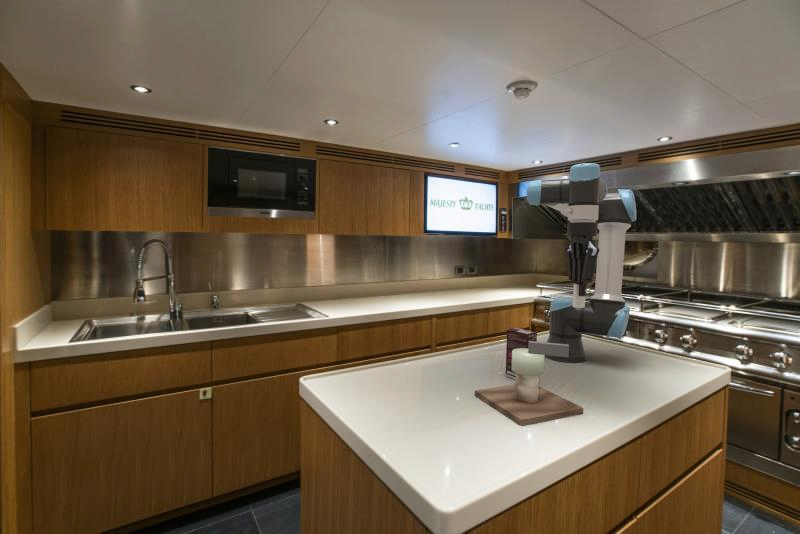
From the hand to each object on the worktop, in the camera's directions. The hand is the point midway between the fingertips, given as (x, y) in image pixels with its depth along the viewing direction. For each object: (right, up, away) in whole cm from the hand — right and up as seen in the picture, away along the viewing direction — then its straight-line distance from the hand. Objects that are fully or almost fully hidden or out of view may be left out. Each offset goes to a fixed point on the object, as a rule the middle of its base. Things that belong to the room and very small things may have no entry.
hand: (578, 307), depth 109 cm
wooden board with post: (-15, -26, -2) cm, 30 cm away
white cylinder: (-12, -17, -3) cm, 21 cm away
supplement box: (-11, -25, +18) cm, 33 cm away
